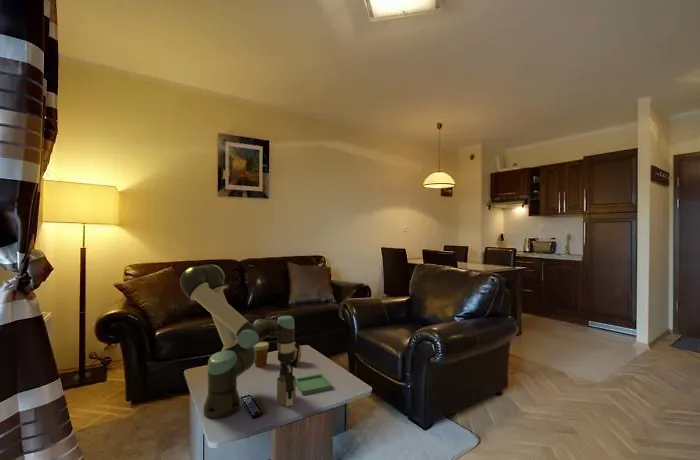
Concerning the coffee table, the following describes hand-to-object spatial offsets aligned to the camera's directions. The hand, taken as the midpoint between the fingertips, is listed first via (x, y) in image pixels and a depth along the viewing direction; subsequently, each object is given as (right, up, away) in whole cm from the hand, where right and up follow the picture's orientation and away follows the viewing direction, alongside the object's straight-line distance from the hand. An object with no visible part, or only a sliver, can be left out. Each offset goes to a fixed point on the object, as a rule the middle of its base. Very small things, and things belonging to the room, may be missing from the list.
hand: (286, 399), depth 153 cm
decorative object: (-4, -1, +43) cm, 43 cm away
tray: (+10, -1, +15) cm, 18 cm away
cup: (0, -1, 0) cm, 1 cm away
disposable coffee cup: (-23, -1, +41) cm, 47 cm away
